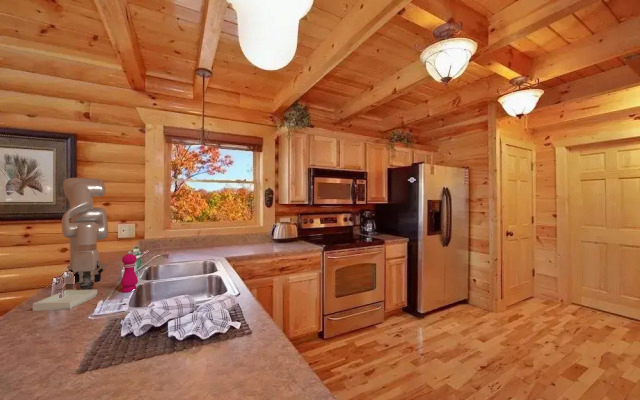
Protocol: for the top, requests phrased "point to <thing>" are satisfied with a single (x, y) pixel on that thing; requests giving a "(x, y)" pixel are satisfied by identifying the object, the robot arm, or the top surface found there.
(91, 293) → the tray
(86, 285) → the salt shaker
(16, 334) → the top surface
